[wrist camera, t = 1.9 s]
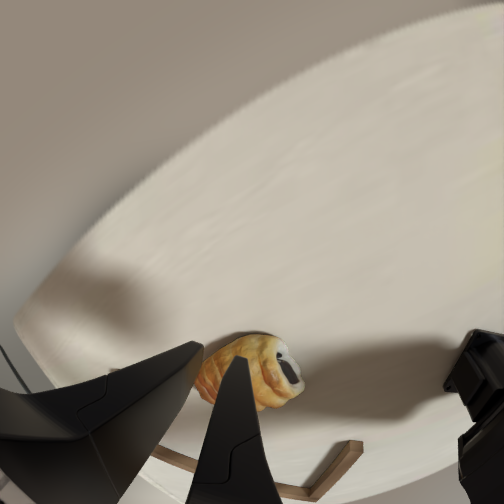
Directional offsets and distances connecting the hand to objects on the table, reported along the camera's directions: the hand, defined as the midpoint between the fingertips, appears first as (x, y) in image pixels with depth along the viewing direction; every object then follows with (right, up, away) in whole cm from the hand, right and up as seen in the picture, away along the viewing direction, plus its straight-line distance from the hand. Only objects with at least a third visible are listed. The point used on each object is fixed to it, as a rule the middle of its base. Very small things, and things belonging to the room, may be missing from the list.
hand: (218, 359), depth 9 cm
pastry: (+1, -6, +15) cm, 16 cm away
